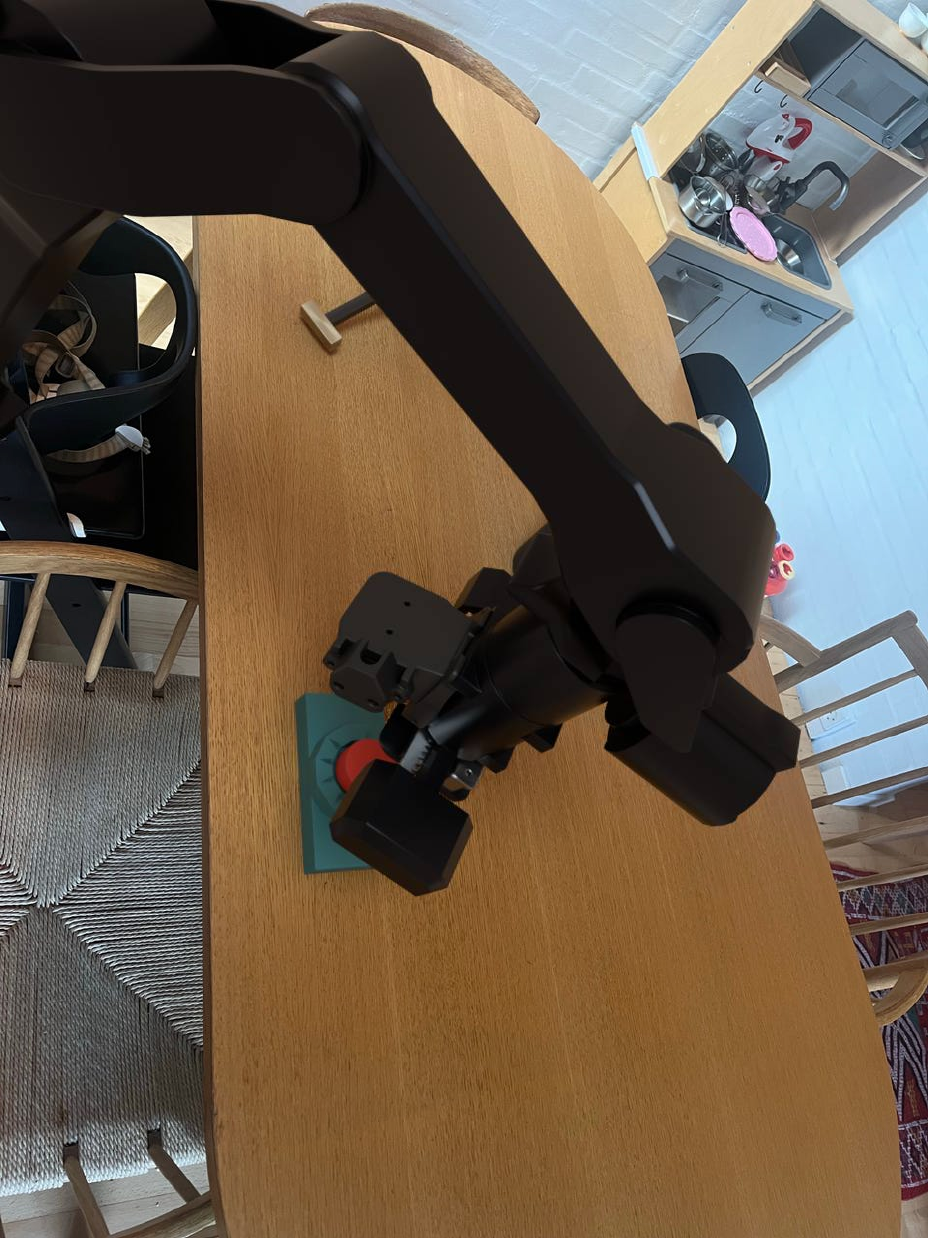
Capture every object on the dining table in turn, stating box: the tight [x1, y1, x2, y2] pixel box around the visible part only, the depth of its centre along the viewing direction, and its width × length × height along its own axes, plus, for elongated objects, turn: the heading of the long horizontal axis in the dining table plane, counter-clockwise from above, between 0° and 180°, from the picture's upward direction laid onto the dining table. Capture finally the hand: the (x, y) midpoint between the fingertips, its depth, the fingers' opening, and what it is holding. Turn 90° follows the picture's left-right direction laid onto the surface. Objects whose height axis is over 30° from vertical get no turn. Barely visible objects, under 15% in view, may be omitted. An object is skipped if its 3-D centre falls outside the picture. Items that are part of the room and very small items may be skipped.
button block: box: [294, 691, 398, 876], centre depth 53 cm, size 12×6×4 cm, turn 9°
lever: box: [299, 291, 376, 353], centre depth 73 cm, size 18×4×2 cm, turn 135°
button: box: [336, 739, 395, 792], centre depth 51 cm, size 4×4×2 cm
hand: (393, 753), depth 48 cm, fingers closed
